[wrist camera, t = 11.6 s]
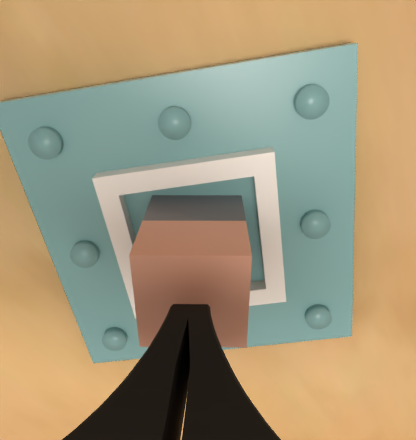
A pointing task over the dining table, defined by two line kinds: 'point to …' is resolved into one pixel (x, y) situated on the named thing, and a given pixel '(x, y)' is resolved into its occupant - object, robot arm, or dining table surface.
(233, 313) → the brick stack
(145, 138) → the baseplate
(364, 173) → the dining table surface
